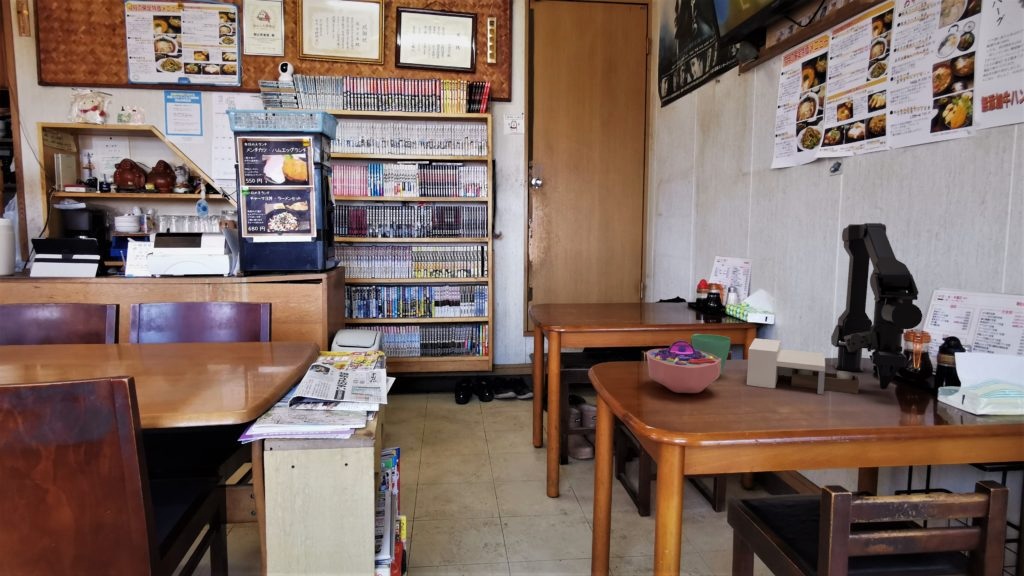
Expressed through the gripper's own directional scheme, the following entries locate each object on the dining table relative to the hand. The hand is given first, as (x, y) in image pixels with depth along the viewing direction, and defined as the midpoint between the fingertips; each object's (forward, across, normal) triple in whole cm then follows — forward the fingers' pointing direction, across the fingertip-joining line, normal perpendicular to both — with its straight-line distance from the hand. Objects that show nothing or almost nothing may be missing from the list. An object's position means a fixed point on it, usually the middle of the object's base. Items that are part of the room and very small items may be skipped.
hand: (883, 388), depth 132 cm
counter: (+1, 0, -21) cm, 21 cm away
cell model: (+2, +21, -42) cm, 47 cm away
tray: (+1, 0, -12) cm, 12 cm away
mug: (+1, +1, -40) cm, 40 cm away
